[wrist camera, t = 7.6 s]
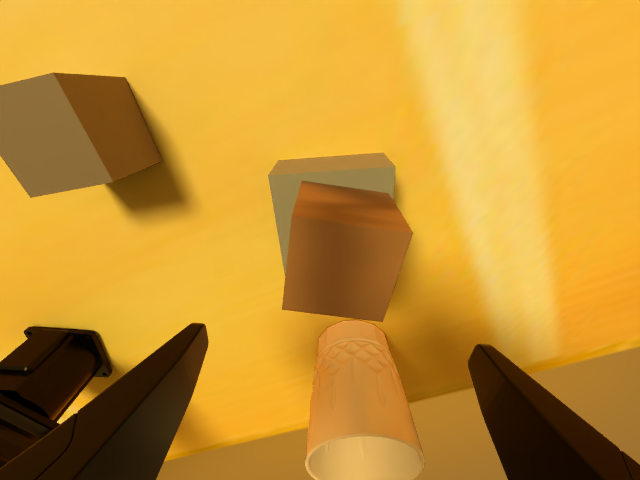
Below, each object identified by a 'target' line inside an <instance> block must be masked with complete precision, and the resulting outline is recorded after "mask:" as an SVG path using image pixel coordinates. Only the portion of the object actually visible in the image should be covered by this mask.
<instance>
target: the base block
mask: <svg viewBox="0 0 640 480" xmlns="http://www.w3.org/2000/svg"><path fill="white" fill-rule="evenodd" d="M268 177H269V183H270V189H271V195H272V201H273V207H274V213H275V218H276V224H277V230H278V236H279V242H280V248H281V254H282V260H283V266H284V272H285V276H286V266H287V256H288V247H289V237H290V227H291V217H292V213H293V209H294V206H295V202H296V199H297V195H298V192H299V188H300V184H301V181H308V182H315V183H322V184H329V185H336V186H342V187H349V188H356V189H363V190H370V191H377V192H383V193H389V194H390V196H391V198H392V199H393V201H394V183H395V165H394V164H393V163H392V162H391V161H390V160H389V159H388V158H387V156H386V155H385V154H384V153H372V154H359V155H345V156H332V157H318V158H305V159H291V160H279V161H278V162H277V163H276V165H275V166H274V168H273V169H272V171H271V172H270V174H269V175H268Z"/></svg>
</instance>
